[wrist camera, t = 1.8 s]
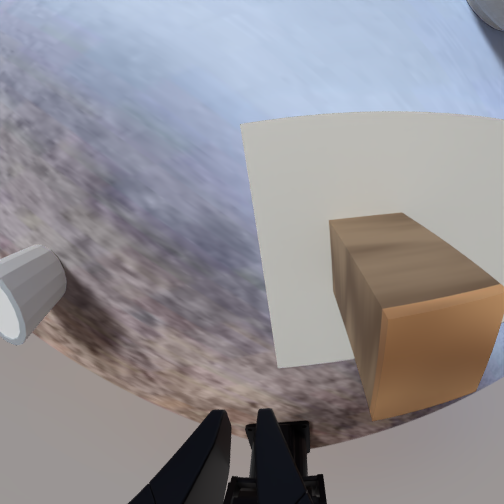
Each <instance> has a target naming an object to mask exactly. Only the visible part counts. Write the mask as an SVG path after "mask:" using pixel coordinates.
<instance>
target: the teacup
mask: <svg viewBox="0 0 504 504" xmlns="http://www.w3.org/2000/svg"><path fill="white" fill-rule="evenodd" d="M467 2H468V3H469V5H470V6H471V8H472V9H473V11H474V12H475V13H476V14H477V15H478V16H479V17H480V18H481V19H482V20H483V21H484V22H485V23H487V24H488V25H489V26H491V27H493V28H495V29H497V30H504V0H467Z"/></svg>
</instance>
